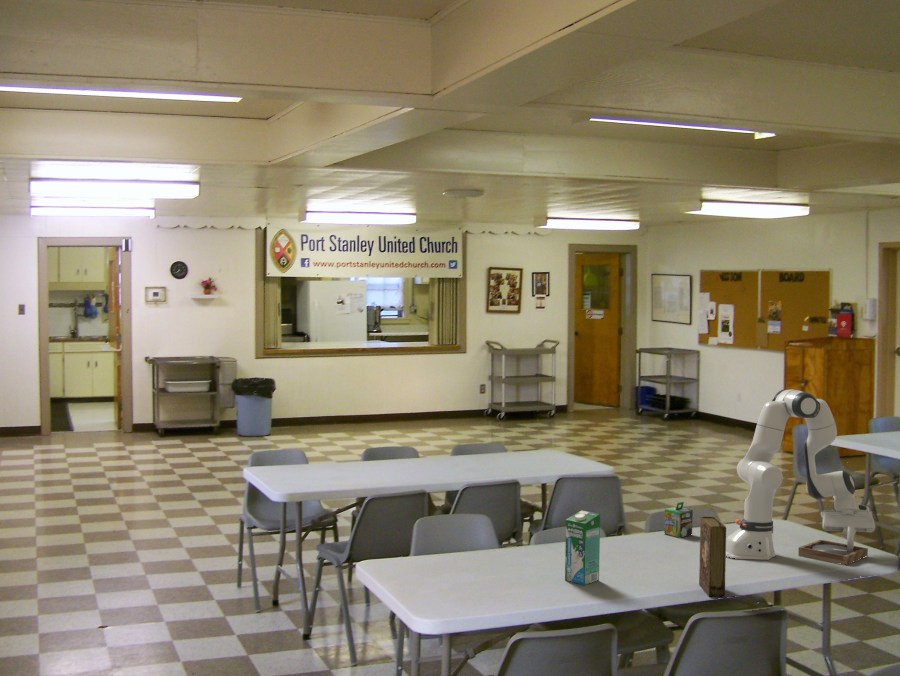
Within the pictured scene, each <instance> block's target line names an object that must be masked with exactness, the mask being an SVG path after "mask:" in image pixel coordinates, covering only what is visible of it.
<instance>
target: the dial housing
mask: <svg viewBox="0 0 900 676" xmlns="http://www.w3.org/2000/svg"><path fill="white" fill-rule="evenodd" d="M815 545H838V546H843V547H847V543H840V542H835V541H829V540H825V539H819V540H816V541H813V542H810V543H807V544H804V545H801V546H799V547H798V555H799V556H798V557H802V556H803V557H804V558H807V557H809V558H808V559H812V558H814V559H813V560H817V559H818V561H822V560H823V561H822V562H827V561H828V563H832V562H834V564H837V563H841V564H840V565H842V564H849V563H851V562H853V561H856V560H858V559H860V558H863V557H865V556H869V555H868V552H869V548H868V547H862V546H857V545H854V547H853V550H854V552H852V553H850V554H847V555H840V554H835V553H830V552H825V551H819V550H814V549H812V547H813V546H815ZM856 562H857V561H856ZM851 564H852V563H851ZM849 565H850V564H849Z"/></svg>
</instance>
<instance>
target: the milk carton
mask: <svg viewBox="0 0 900 676" xmlns="http://www.w3.org/2000/svg"><path fill="white" fill-rule="evenodd" d="M600 540H601V513H597V512H591V511H586V510H579V511H578V512H575V513H574V514H573V515H571V516H569V517H568V518H566V519H565V549H564V550H565V553H564V554H565V555H564V556H565V559H564V560H565V562H564V581H566V580H567V582H570V581H571V582H570V583H574V582H575V584H577V583H578V585H581V584H582V586H586V584H587V585H589V583H590V584H592V582H593V583H595V582H594V581H596V582H598V581H597V580H599V581H600V553H601V552H600V545H601V543H600V542H601V541H600Z"/></svg>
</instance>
